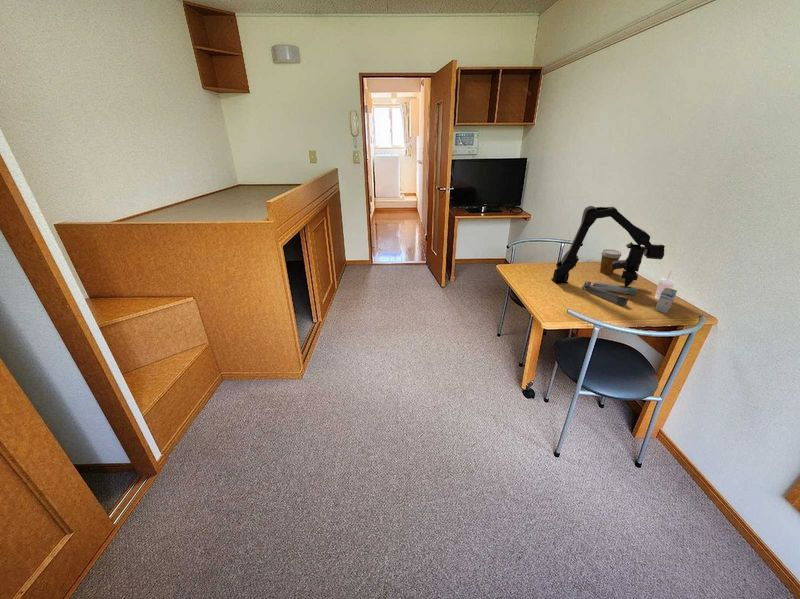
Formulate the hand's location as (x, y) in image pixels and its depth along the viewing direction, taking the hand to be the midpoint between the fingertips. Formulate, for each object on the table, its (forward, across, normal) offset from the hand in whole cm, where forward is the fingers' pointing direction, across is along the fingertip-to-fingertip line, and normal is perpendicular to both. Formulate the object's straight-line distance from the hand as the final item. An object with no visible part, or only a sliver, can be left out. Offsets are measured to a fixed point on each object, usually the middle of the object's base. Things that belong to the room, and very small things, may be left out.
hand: (625, 286), depth 167 cm
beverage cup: (+1, +4, +14) cm, 15 cm away
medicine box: (+1, +16, +15) cm, 22 cm away
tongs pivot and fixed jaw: (+1, +15, -8) cm, 17 cm away
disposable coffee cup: (+1, -20, -10) cm, 22 cm away
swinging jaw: (+1, +7, -5) cm, 9 cm away
